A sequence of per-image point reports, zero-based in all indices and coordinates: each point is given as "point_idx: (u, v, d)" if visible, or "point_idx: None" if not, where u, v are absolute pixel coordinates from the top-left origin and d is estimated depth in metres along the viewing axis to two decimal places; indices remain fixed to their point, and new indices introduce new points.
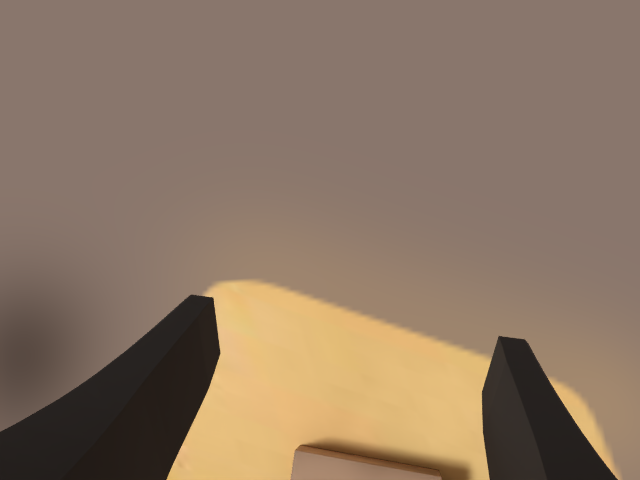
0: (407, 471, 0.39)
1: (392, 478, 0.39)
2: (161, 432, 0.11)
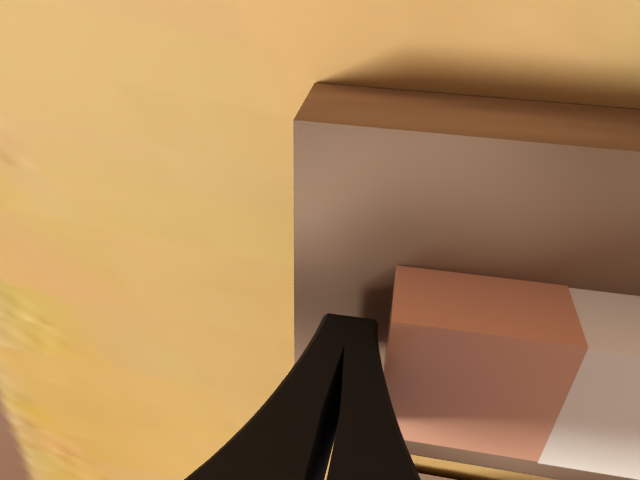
0: None
1: None
2: (320, 460, 0.11)
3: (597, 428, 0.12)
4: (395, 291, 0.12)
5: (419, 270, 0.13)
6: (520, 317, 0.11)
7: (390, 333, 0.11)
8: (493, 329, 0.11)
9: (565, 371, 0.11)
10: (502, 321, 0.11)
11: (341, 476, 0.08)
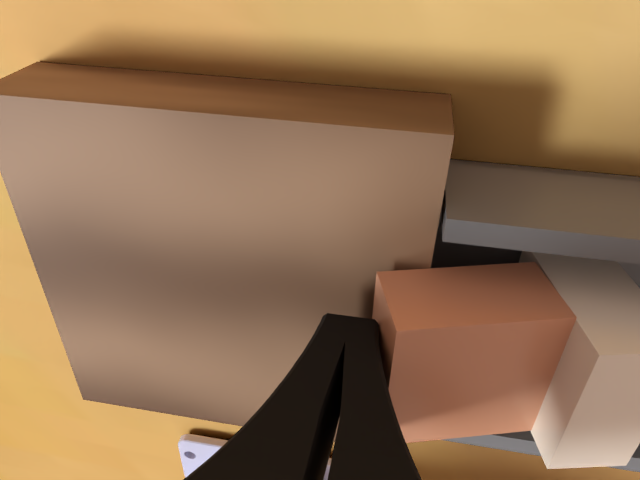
0: (335, 125, 0.11)
1: (288, 150, 0.12)
2: (320, 460, 0.11)
3: None
4: (387, 299, 0.12)
5: (400, 272, 0.13)
6: (509, 301, 0.12)
7: (395, 343, 0.11)
8: (491, 318, 0.11)
9: (557, 343, 0.12)
10: (495, 308, 0.12)
11: (342, 476, 0.08)
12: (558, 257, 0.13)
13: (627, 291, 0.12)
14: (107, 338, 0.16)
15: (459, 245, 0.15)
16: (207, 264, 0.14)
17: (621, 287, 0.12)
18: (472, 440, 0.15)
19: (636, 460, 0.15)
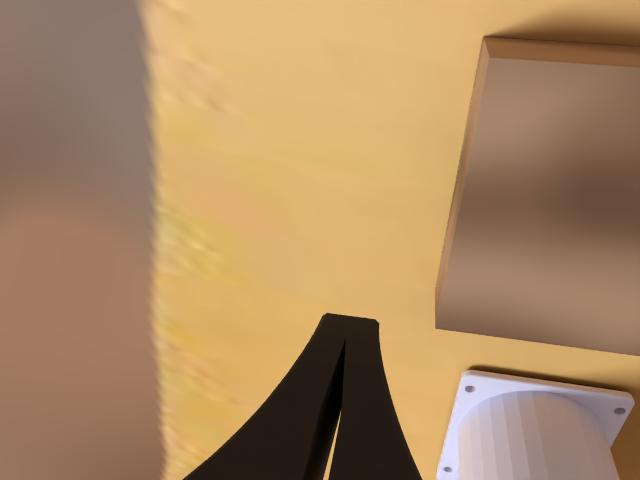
0: None
1: None
2: (320, 460, 0.11)
3: None
4: None
5: None
6: None
7: None
8: None
9: None
10: None
11: (343, 476, 0.08)
12: None
13: None
14: (493, 269, 0.20)
15: None
16: (628, 200, 0.17)
17: None
18: None
19: None
